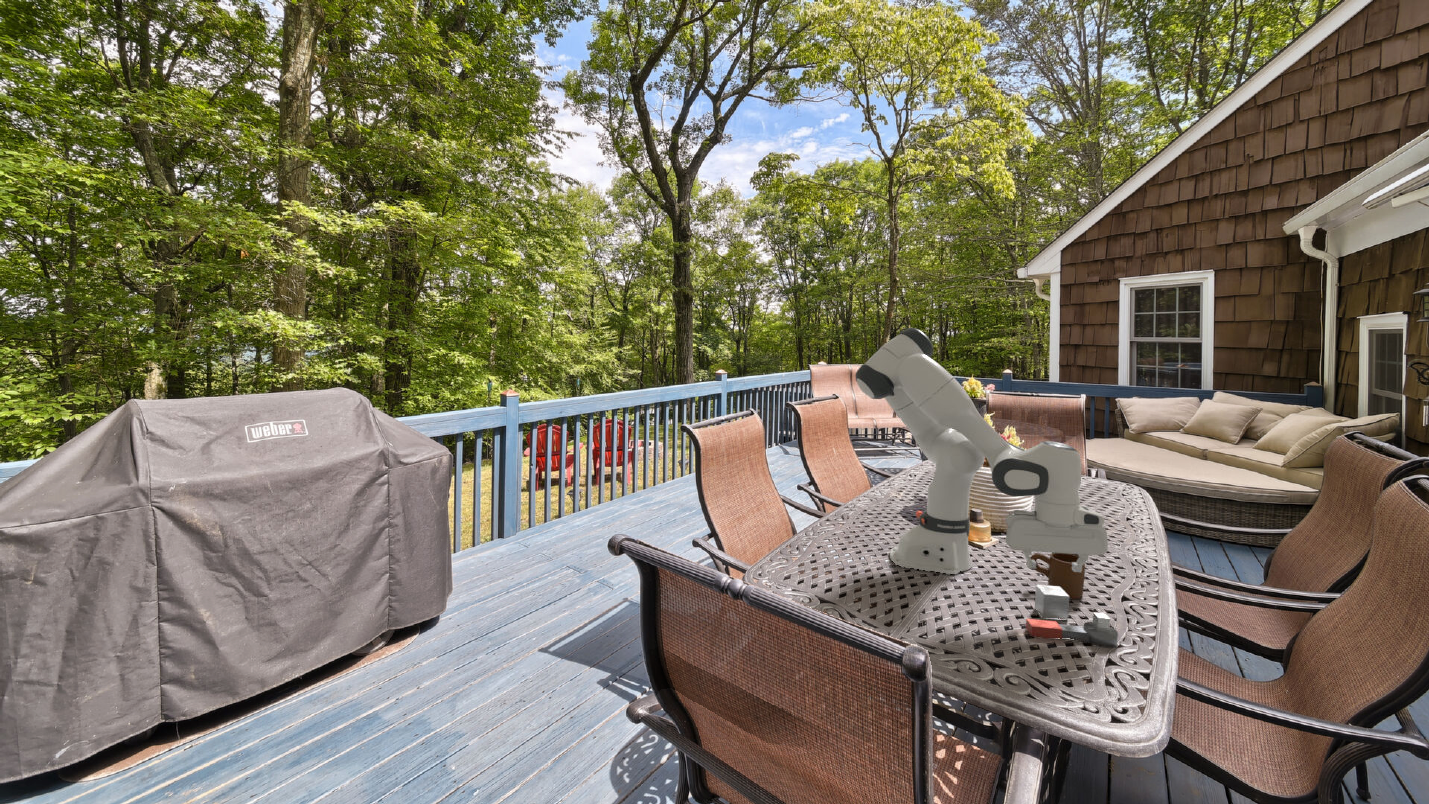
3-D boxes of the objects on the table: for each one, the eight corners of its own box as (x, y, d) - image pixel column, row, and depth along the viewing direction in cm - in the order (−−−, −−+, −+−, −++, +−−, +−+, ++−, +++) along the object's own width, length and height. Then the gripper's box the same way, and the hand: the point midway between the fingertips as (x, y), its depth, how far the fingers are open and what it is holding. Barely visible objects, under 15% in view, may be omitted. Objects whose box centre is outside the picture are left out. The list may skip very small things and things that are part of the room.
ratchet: (1033, 639, 117) (1034, 615, 116) (1023, 625, 122) (1025, 602, 122) (1122, 649, 113) (1124, 624, 113) (1108, 634, 119) (1110, 610, 118)
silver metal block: (1042, 618, 126) (1044, 594, 125) (1034, 608, 131) (1036, 584, 130) (1067, 621, 125) (1069, 596, 124) (1058, 610, 130) (1060, 586, 129)
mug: (1026, 590, 140) (1028, 555, 139) (1029, 580, 147) (1031, 546, 146) (1082, 603, 133) (1085, 566, 133) (1083, 591, 140) (1085, 556, 139)
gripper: (1011, 513, 124) (1008, 571, 126) (1112, 518, 119) (1109, 578, 121) (1003, 505, 130) (1001, 561, 132) (1099, 510, 126) (1096, 567, 127)
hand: (1053, 569), depth 126 cm, fingers open, 8 cm apart
